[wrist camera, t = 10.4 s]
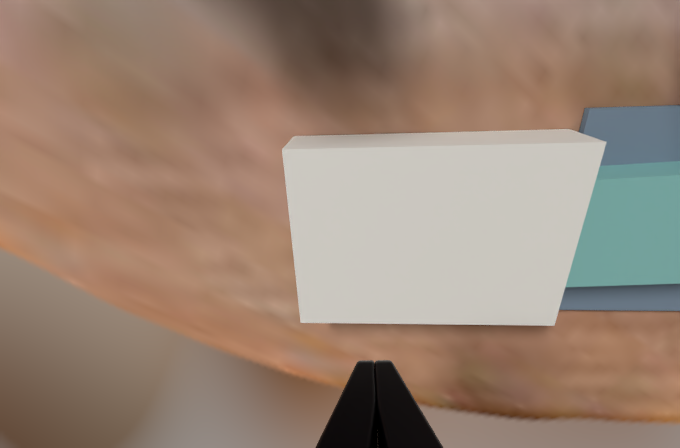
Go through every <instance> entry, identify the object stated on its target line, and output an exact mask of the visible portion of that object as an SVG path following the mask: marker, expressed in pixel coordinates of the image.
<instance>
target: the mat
mask: <svg viewBox="0 0 680 448" xmlns="http://www.w3.org/2000/svg"><path fill="white" fill-rule="evenodd" d="M579 133H582V134H585V135H588V136H591V137H594V138H596V139H599V140H602V141H605V142H607V143H606V146H605V150H604V153H603V157H602V160H601V164H600V166H608V165H624V164H640V163H656V162H672V161H680V105H668V106H634V107H600V108H585V110H584V114H583V118H582V122H581V126H580V130H579ZM559 310H644V311H680V284H650V285H620V286H590V287H565V290H564V294H563V297H562V301H561V304H560V308H559Z"/></svg>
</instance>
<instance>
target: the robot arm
mask: <svg viewBox="0 0 680 448" xmlns="http://www.w3.org/2000/svg"><path fill="white" fill-rule="evenodd" d="M377 433H378V436H377ZM316 448H443V446H442V445H441V443H440V442H439V440H438V438H437V437H436V435H435V433H434V431H433V430H432V428H431V426H430V425H429V423H428V421H427V420H426V418H425V416H424V415H423V413H422V411H421V410H420V408H419V406H418V405H417V403H416V401H415V400H414V398H413V396H412V395H411V393H410V391H409V390H408V388H407V386H406V384H405V383H404V381H403V379H402V378H401V376H400V374H399V373H398V371H397V369H396V368H395V366H394V364H393V363H392V362H391V361H389V360H378V361H376V362H375V364H374V361H358V362H357V364H356V366H355V368H354V370H353V372H352V374H351V376H350V378H349V380H348V382H347V384H346V386H345V388H344V390H343V392H342V395H341V397H340V399H339V401H338V403H337V405H336V407H335V409H334V411H333V413H332V415H331V417H330V419H329V421H328V423H327V425H326V428H325V429H324V431H323V433H322V435H321V437H320V440H319V442H318V444H317V446H316Z"/></svg>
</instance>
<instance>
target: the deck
mask: <svg viewBox="0 0 680 448" xmlns="http://www.w3.org/2000/svg"><path fill="white" fill-rule="evenodd" d="M606 143H607V142H605V141H602V140H599V139H596V138H594V137H591V136H588V135H585V134H582V133H579V132H576V131H573V130H571V129H552V130H513V131H475V132H436V133H397V134H358V135H319V136H294V137H293V138H292V139H291V140H290V141H289V142H288V143H287V145H286V146H285V147H284V148H283V149H282V153H283V163H284V172H285V181H286V190H287V200H288V209H289V218H290V228H291V237H292V246H293V256H294V265H295V274H296V283H297V293H298V302H299V311H300V321H301V323H366V324H454V325H541V326H554V325H555V322H556V318H557V315H558V311H559V308H560V304H561V301H562V297H563V294H564V290H565V287H566V283H567V280H568V276H569V273H570V269H571V265H572V262H573V258H574V255H575V251H576V248H577V244H578V241H579V237H580V234H581V230H582V227H583V223H584V220H585V216H586V213H587V209H588V206H589V202H590V199H591V195H592V192H593V188H594V185H595V181H596V178H597V174H598V171H599V167H600V164H601V160H602V157H603V153H604V150H605V146H606Z"/></svg>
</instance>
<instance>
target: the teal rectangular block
mask: <svg viewBox="0 0 680 448" xmlns="http://www.w3.org/2000/svg"><path fill="white" fill-rule="evenodd" d="M650 284H680V161H672V162H656V163H640V164H624V165H608V166H600V167H599V171H598V174H597V178H596V181H595V185H594V188H593V192H592V195H591V199H590V202H589V206H588V209H587V213H586V216H585V220H584V223H583V227H582V230H581V234H580V237H579V241H578V244H577V248H576V251H575V255H574V258H573V262H572V265H571V269H570V273H569V276H568V280H567V283H566V287H590V286H620V285H650Z"/></svg>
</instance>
